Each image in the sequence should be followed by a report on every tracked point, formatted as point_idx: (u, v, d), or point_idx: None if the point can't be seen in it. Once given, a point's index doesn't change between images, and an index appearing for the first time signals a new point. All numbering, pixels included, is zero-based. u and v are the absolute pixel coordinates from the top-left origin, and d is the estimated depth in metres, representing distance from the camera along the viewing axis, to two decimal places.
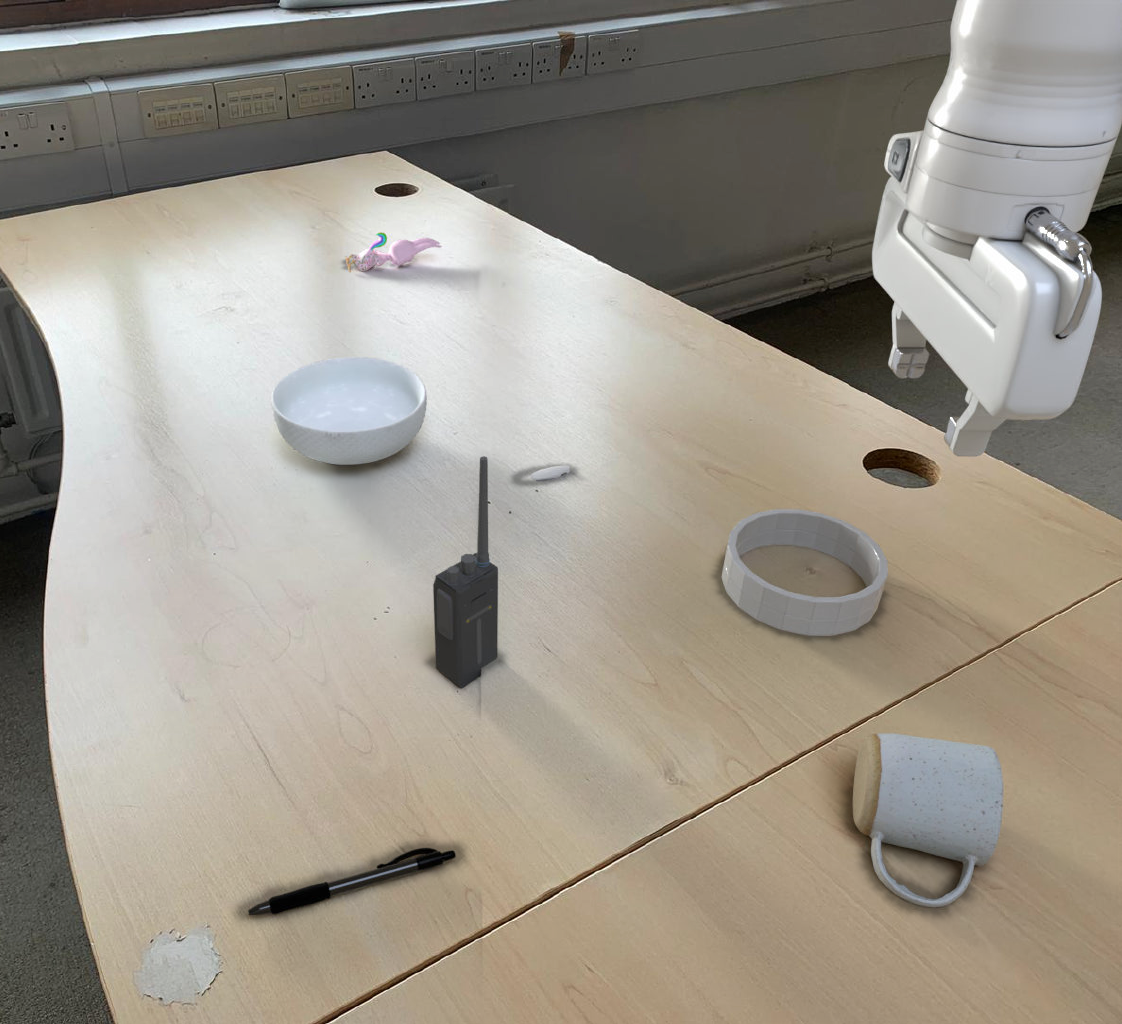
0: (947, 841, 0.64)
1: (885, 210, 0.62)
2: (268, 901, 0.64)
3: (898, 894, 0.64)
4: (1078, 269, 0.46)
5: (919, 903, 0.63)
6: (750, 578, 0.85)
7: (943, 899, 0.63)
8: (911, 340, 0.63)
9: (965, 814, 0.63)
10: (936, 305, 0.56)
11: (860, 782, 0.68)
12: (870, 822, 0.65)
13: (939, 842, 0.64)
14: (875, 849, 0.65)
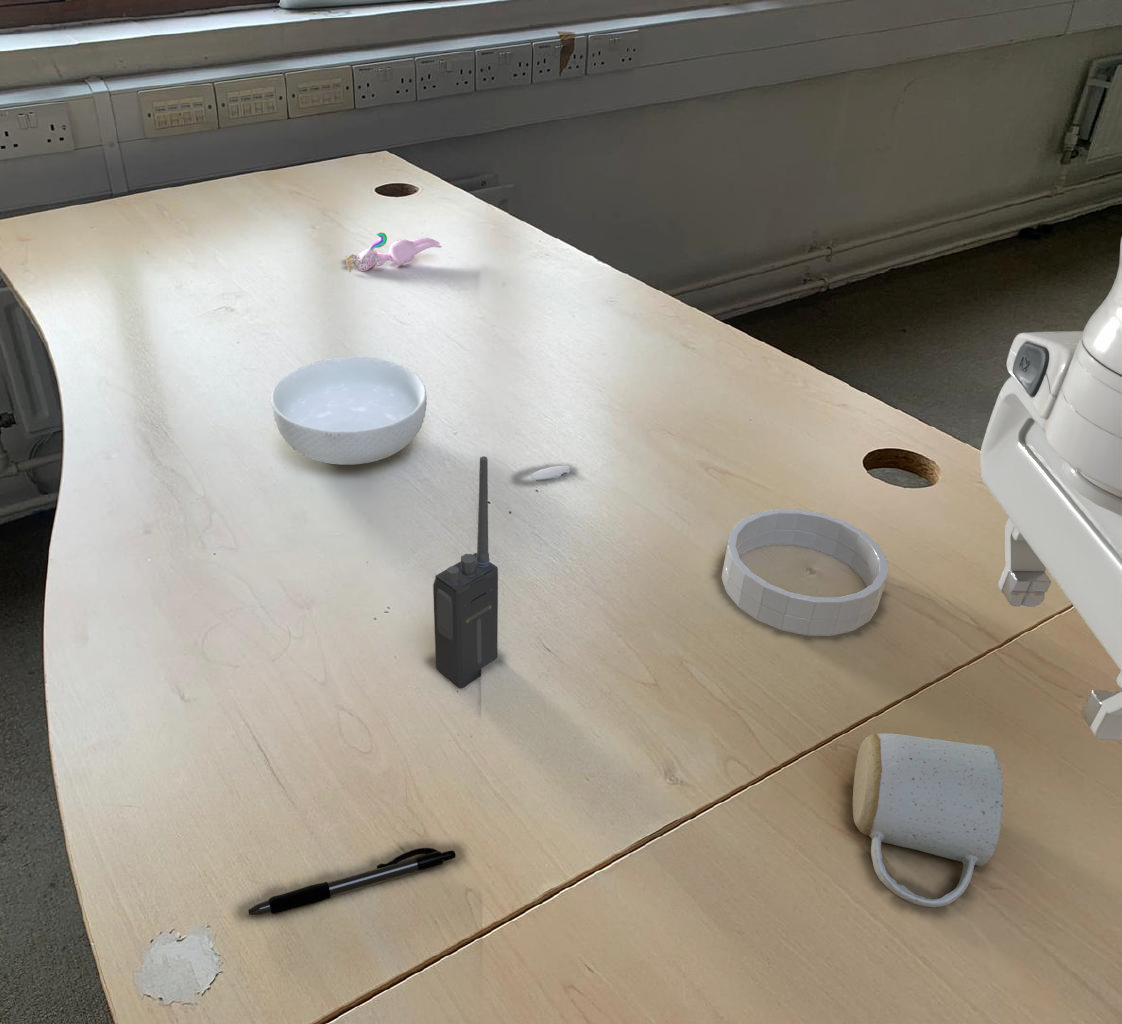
0: (947, 841, 0.64)
1: (1002, 412, 0.52)
2: (268, 901, 0.64)
3: (898, 894, 0.64)
4: None
5: (919, 903, 0.63)
6: (750, 578, 0.85)
7: (943, 899, 0.63)
8: (1028, 563, 0.53)
9: (965, 814, 0.63)
10: (1077, 554, 0.46)
11: (860, 782, 0.68)
12: (870, 822, 0.65)
13: (939, 842, 0.64)
14: (875, 849, 0.65)
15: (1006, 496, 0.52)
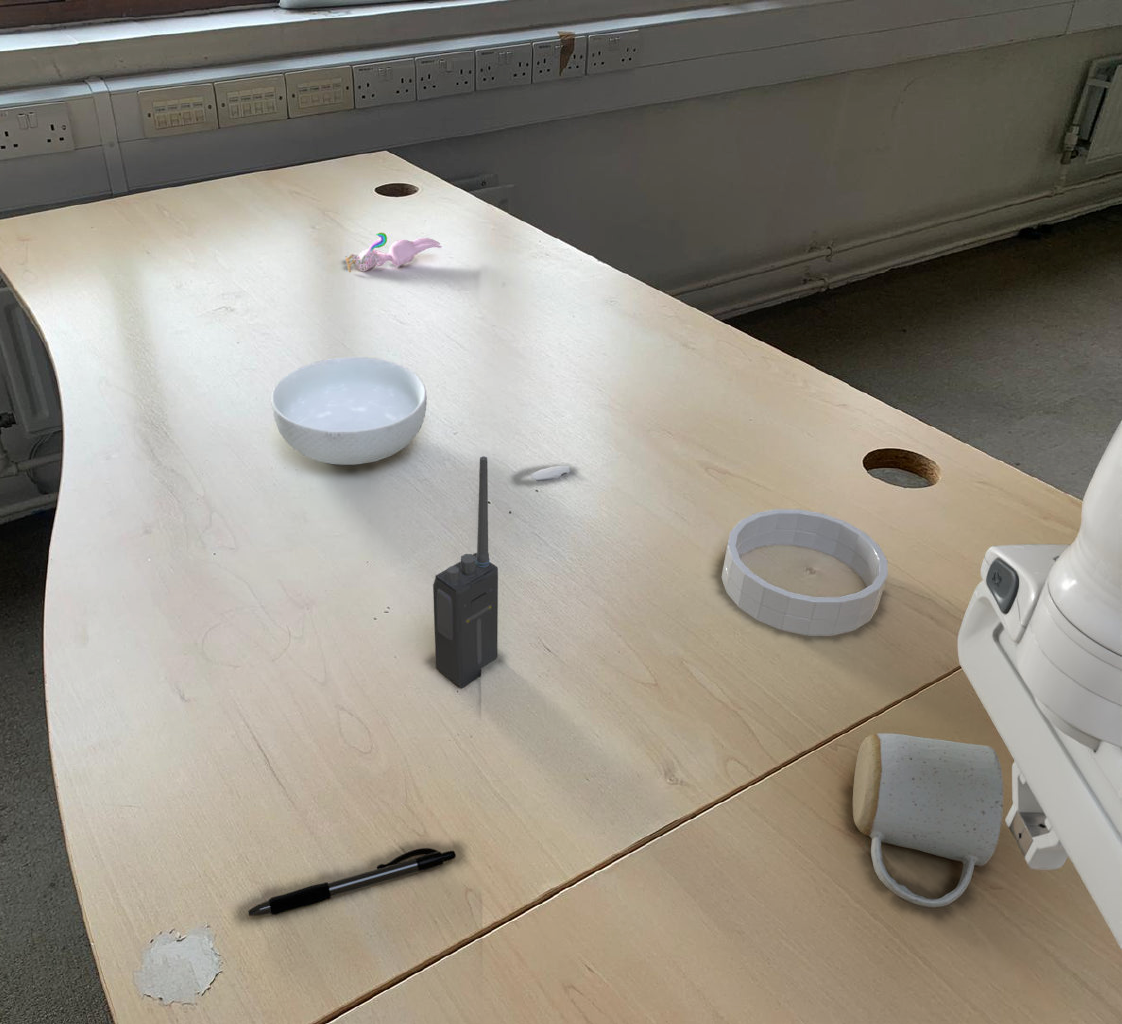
0: (947, 841, 0.64)
1: (977, 609, 0.55)
2: (268, 901, 0.64)
3: (898, 894, 0.64)
4: None
5: (919, 903, 0.63)
6: (750, 578, 0.85)
7: (943, 899, 0.63)
8: (1036, 804, 0.53)
9: (965, 814, 0.63)
10: (1047, 766, 0.49)
11: (860, 782, 0.68)
12: (870, 822, 0.65)
13: (939, 842, 0.64)
14: (875, 849, 0.65)
15: (982, 688, 0.55)
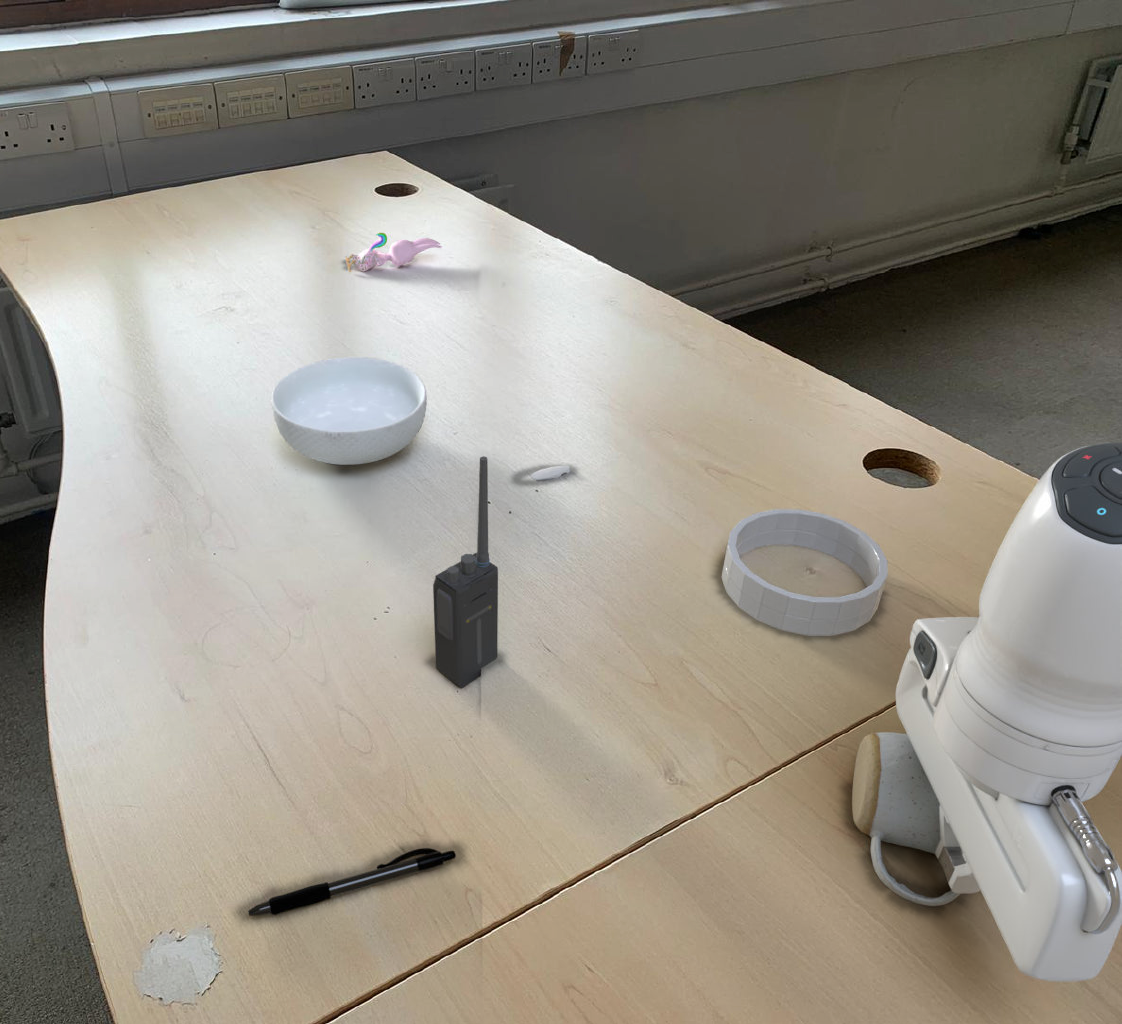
0: None
1: (909, 670, 0.64)
2: (268, 902, 0.64)
3: (898, 893, 0.64)
4: (1105, 887, 0.47)
5: (919, 902, 0.63)
6: (750, 578, 0.85)
7: (943, 898, 0.63)
8: None
9: None
10: (962, 809, 0.58)
11: (859, 781, 0.68)
12: (870, 820, 0.65)
13: (939, 841, 0.64)
14: (875, 848, 0.65)
15: (914, 737, 0.64)
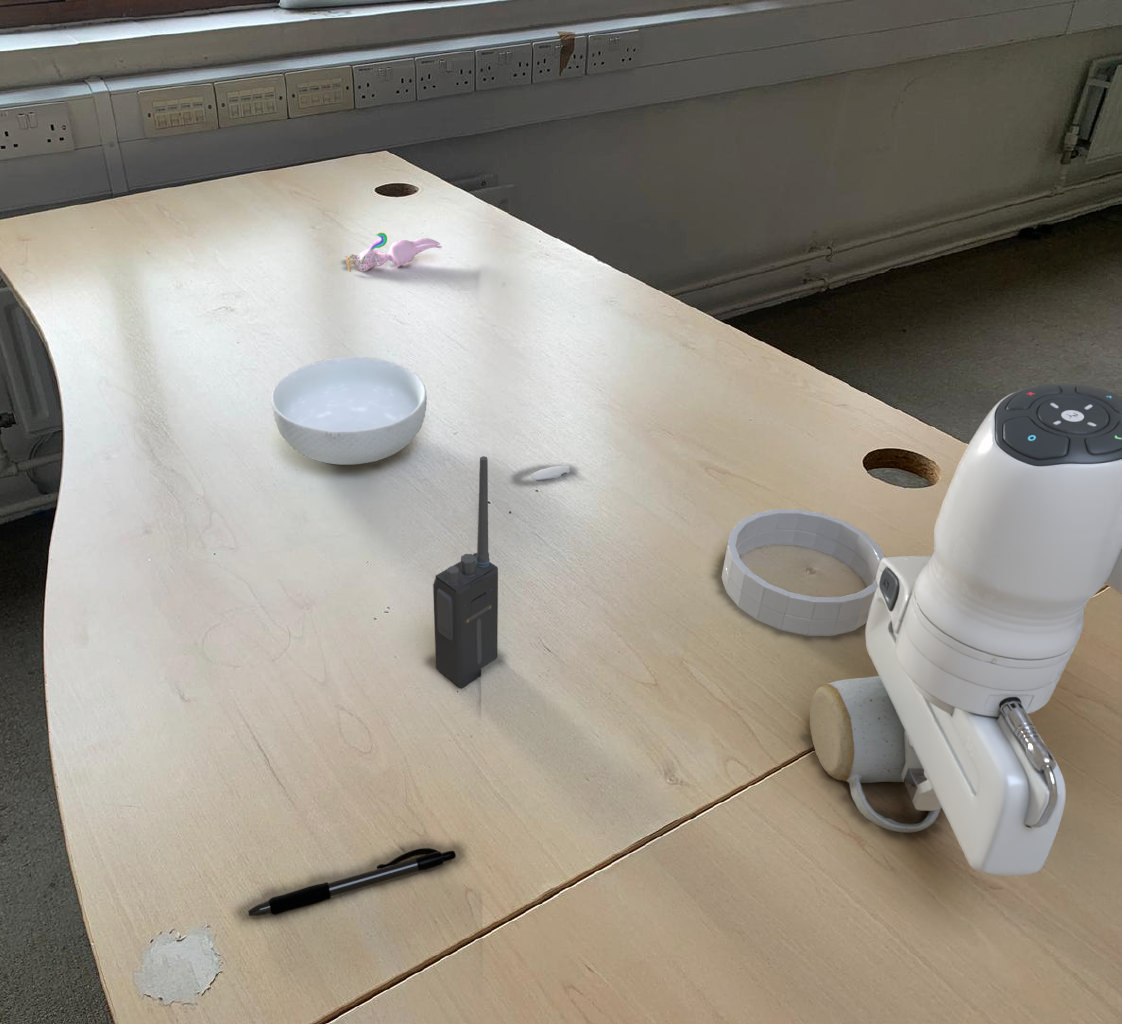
0: None
1: (877, 607, 0.69)
2: (268, 902, 0.64)
3: (888, 828, 0.68)
4: (1044, 783, 0.53)
5: (908, 830, 0.67)
6: (750, 578, 0.85)
7: (927, 821, 0.68)
8: None
9: None
10: (923, 729, 0.63)
11: (823, 732, 0.72)
12: (849, 767, 0.69)
13: None
14: (858, 792, 0.69)
15: (881, 670, 0.69)
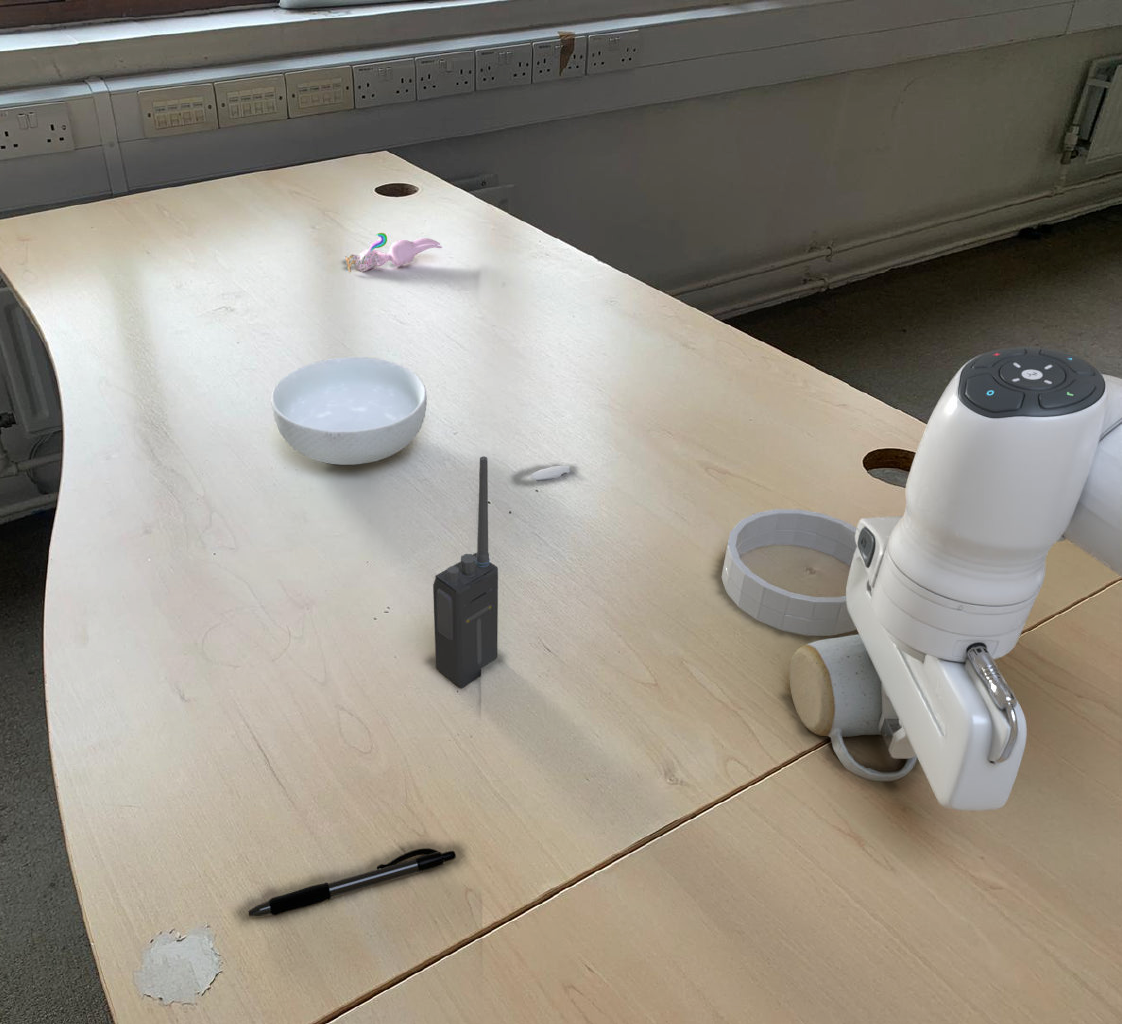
0: None
1: (856, 567, 0.73)
2: (268, 902, 0.64)
3: (870, 777, 0.71)
4: (1006, 719, 0.56)
5: (889, 778, 0.71)
6: (750, 578, 0.85)
7: (906, 768, 0.71)
8: None
9: None
10: (897, 678, 0.67)
11: (803, 691, 0.75)
12: (830, 722, 0.72)
13: None
14: (840, 744, 0.72)
15: (860, 626, 0.73)
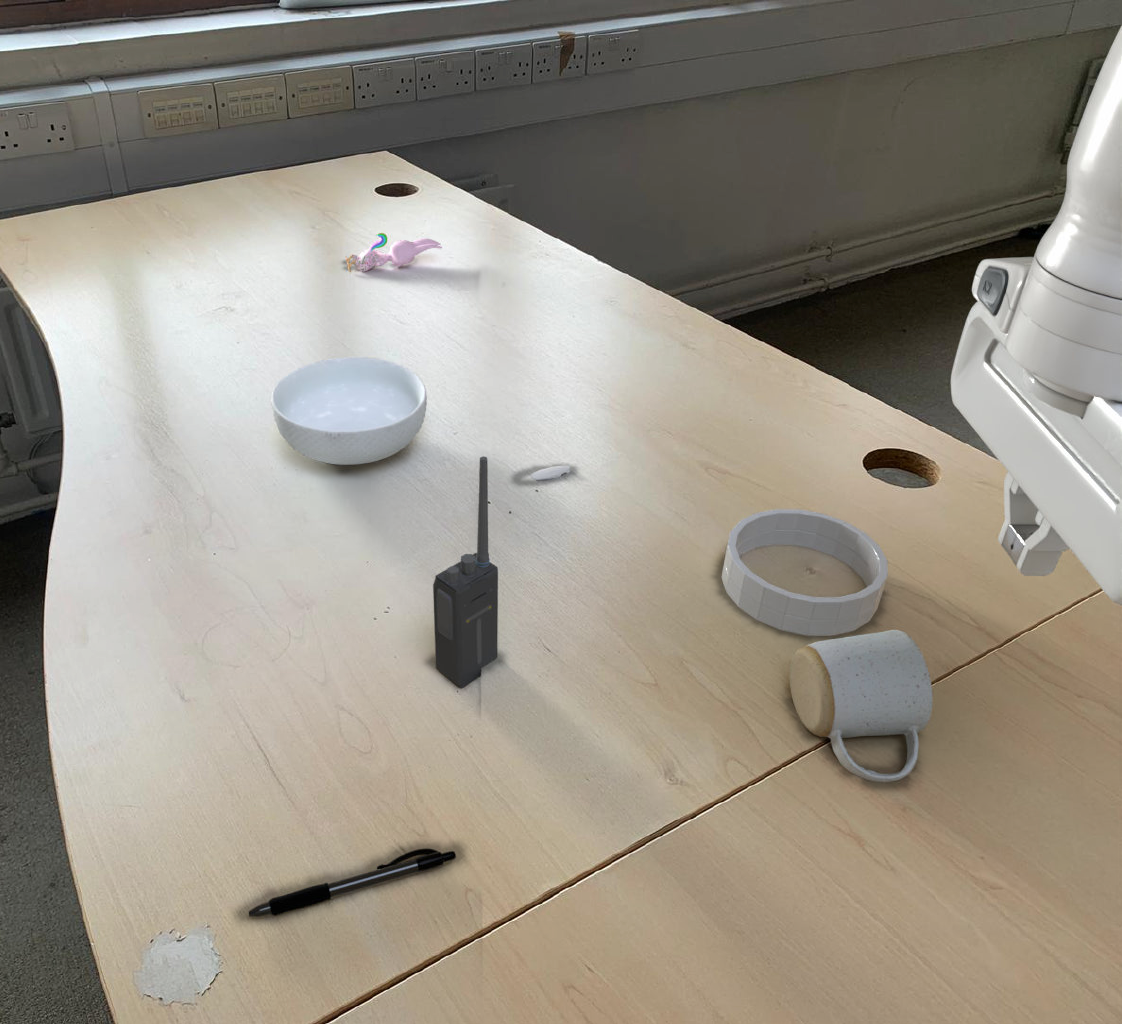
0: (894, 720, 0.72)
1: (970, 336, 0.56)
2: (268, 902, 0.64)
3: (870, 778, 0.71)
4: None
5: (888, 780, 0.71)
6: (750, 578, 0.85)
7: (905, 770, 0.71)
8: (1027, 516, 0.54)
9: (905, 692, 0.71)
10: (1036, 456, 0.50)
11: (803, 692, 0.75)
12: (830, 723, 0.72)
13: (887, 723, 0.72)
14: (839, 746, 0.72)
15: (974, 414, 0.56)
